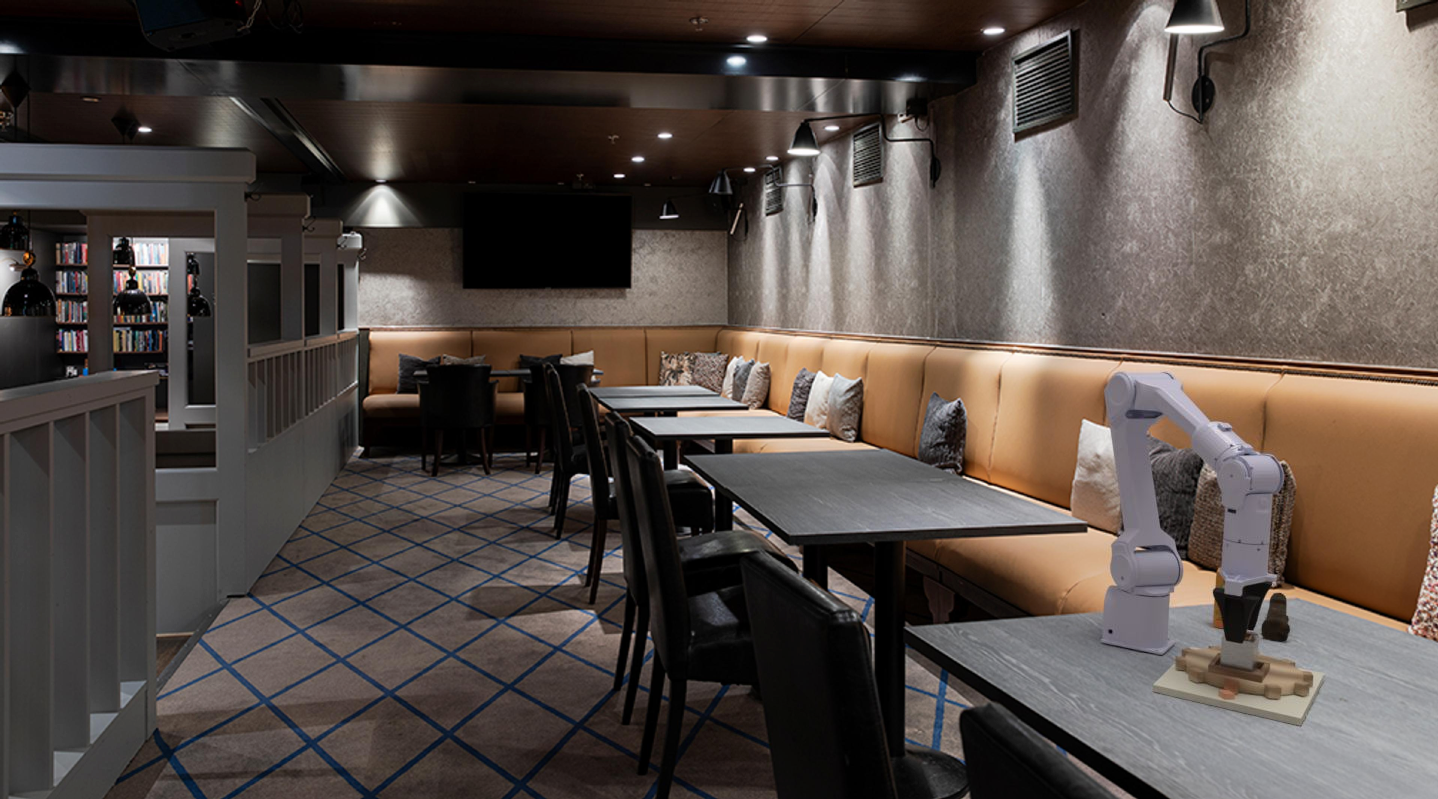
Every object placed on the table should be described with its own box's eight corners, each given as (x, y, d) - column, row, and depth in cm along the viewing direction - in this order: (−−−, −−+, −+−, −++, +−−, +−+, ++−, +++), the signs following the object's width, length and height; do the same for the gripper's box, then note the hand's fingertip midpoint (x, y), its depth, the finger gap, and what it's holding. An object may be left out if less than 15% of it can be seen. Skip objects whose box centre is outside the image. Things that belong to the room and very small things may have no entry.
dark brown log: (1288, 645, 159) (1290, 617, 159) (1260, 640, 161) (1262, 613, 161) (1295, 618, 175) (1297, 593, 174) (1270, 614, 177) (1271, 589, 177)
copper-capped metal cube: (1219, 671, 137) (1222, 634, 137) (1225, 664, 140) (1227, 628, 140) (1251, 678, 135) (1253, 640, 134) (1257, 670, 138) (1259, 633, 137)
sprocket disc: (1191, 648, 152) (1193, 616, 152) (1318, 673, 142) (1320, 639, 141) (1163, 678, 138) (1165, 643, 138) (1302, 708, 128) (1304, 671, 127)
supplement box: (1211, 627, 167) (1214, 570, 166) (1215, 622, 170) (1218, 566, 169) (1233, 631, 165) (1236, 573, 164) (1236, 626, 168) (1240, 569, 167)
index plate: (1152, 691, 136) (1153, 679, 136) (1190, 652, 153) (1191, 641, 153) (1300, 726, 125) (1301, 712, 125) (1324, 679, 142) (1325, 667, 142)
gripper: (1269, 553, 128) (1262, 654, 129) (1287, 536, 139) (1281, 629, 140) (1210, 545, 132) (1204, 642, 133) (1232, 529, 144) (1227, 619, 145)
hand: (1240, 635), depth 137 cm, fingers open, 7 cm apart
